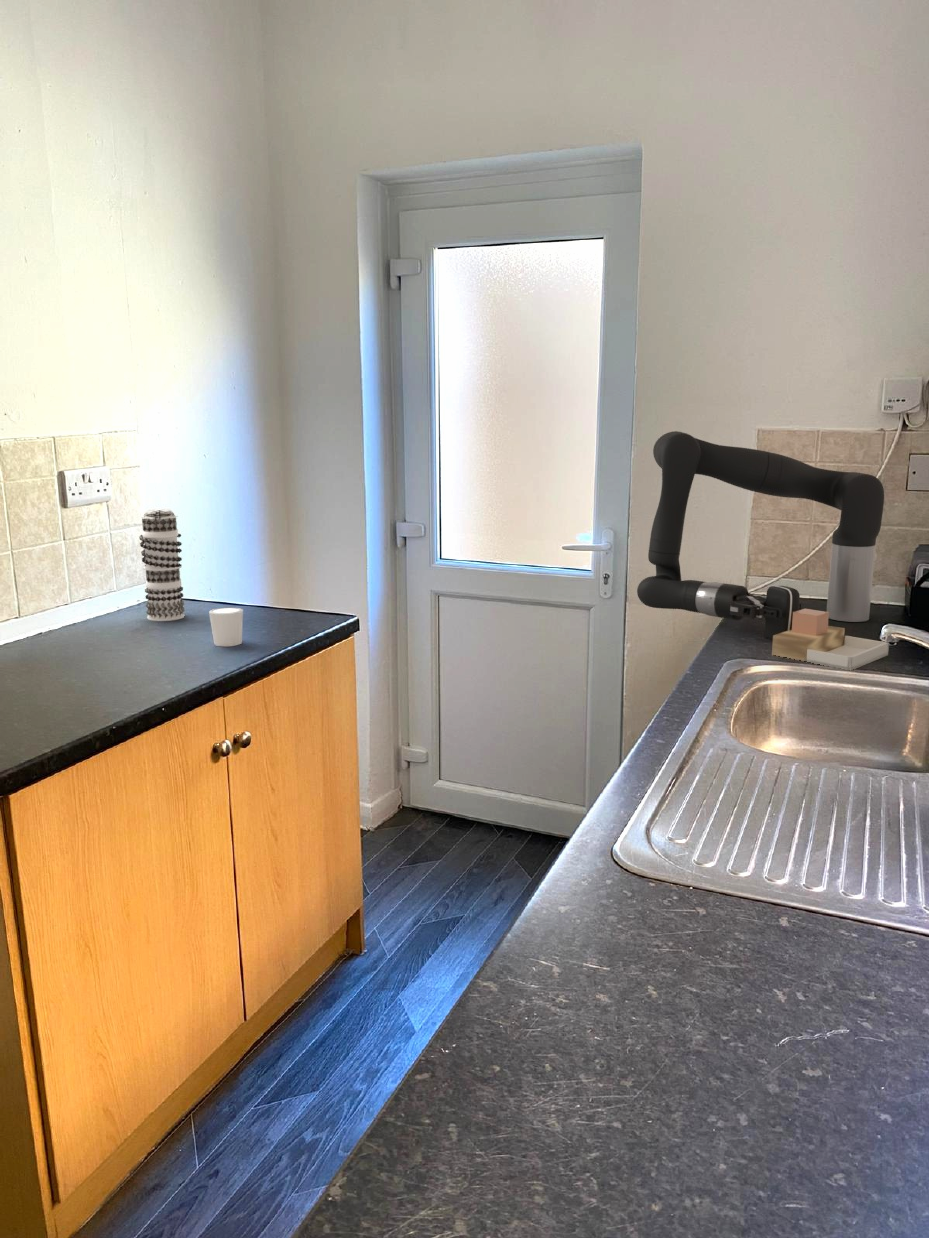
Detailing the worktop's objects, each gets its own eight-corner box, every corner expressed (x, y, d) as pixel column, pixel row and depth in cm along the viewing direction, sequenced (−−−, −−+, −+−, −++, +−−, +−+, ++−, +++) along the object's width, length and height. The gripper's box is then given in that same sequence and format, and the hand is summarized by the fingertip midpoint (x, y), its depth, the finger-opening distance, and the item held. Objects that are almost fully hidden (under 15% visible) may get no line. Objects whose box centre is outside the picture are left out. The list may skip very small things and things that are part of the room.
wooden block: (810, 641, 199) (811, 623, 198) (843, 647, 194) (844, 628, 193) (771, 655, 188) (773, 635, 187) (805, 661, 183) (807, 641, 182)
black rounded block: (799, 643, 198) (803, 588, 195) (784, 644, 196) (788, 590, 194) (777, 636, 204) (780, 583, 202) (762, 637, 203) (766, 584, 200)
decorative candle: (147, 614, 228) (140, 508, 222) (188, 612, 229) (181, 508, 224) (142, 622, 219) (134, 512, 214) (184, 620, 221) (177, 511, 215)
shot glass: (247, 645, 197) (245, 612, 196) (213, 648, 195) (211, 614, 193) (242, 638, 203) (240, 605, 202) (208, 641, 201) (207, 608, 199)
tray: (845, 647, 194) (846, 635, 193) (888, 655, 188) (889, 642, 187) (806, 662, 183) (807, 649, 182) (850, 670, 177) (851, 657, 176)
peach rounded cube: (803, 627, 194) (805, 608, 193) (827, 631, 190) (829, 612, 189) (791, 631, 190) (793, 612, 189) (815, 635, 187) (817, 615, 186)
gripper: (705, 587, 203) (775, 597, 192) (740, 579, 213) (809, 588, 202) (703, 622, 205) (773, 634, 194) (738, 612, 215) (806, 623, 203)
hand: (791, 611), depth 198 cm, fingers open, 8 cm apart
